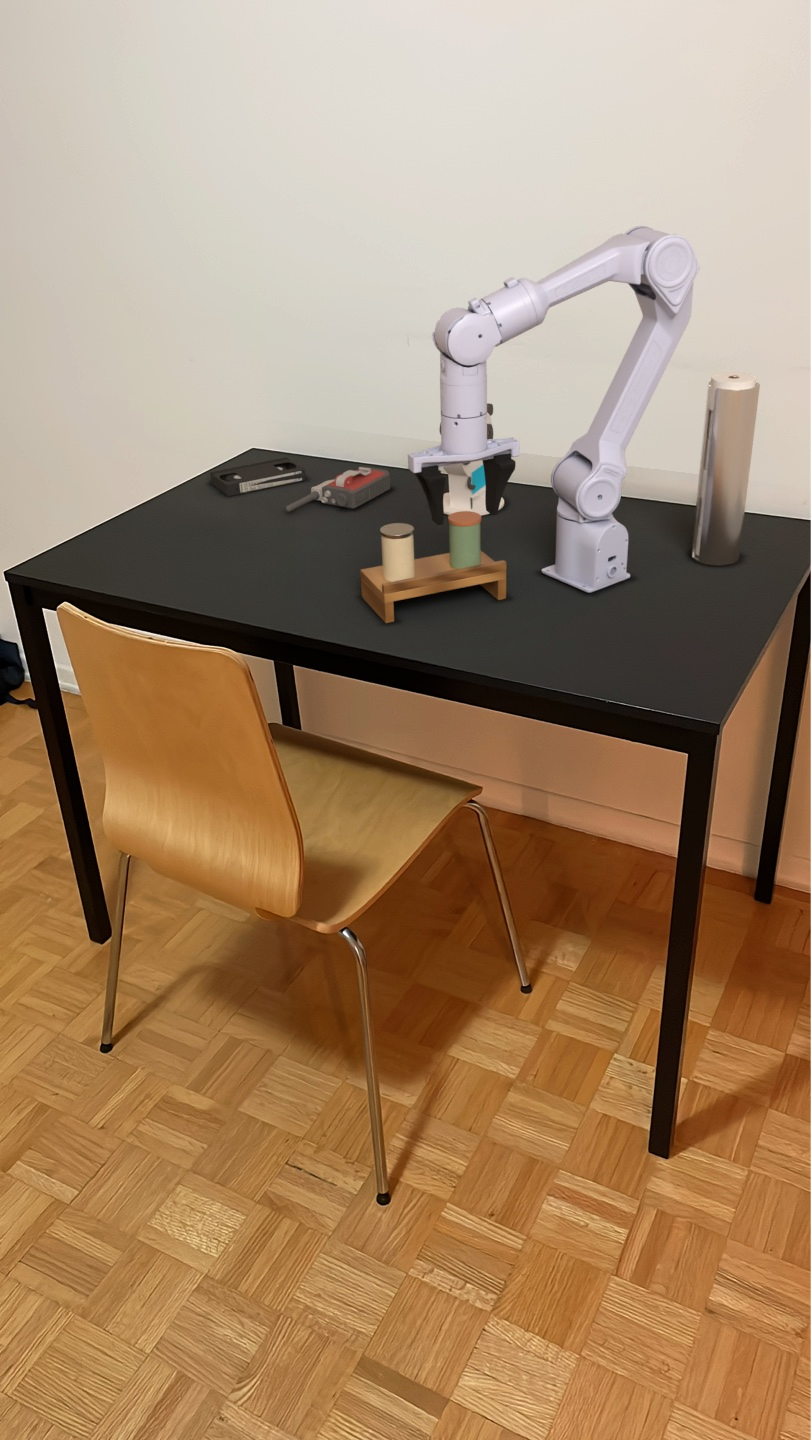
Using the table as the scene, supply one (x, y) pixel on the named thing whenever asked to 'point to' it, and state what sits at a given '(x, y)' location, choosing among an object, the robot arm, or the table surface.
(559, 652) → the table surface
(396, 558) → the cream tin
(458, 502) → the panda figurine
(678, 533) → the table surface
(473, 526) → the sage tin
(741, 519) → the silver metal cylinder
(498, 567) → the shelf
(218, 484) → the vhs tape
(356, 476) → the walkie-talkie
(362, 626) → the table surface
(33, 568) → the table surface
